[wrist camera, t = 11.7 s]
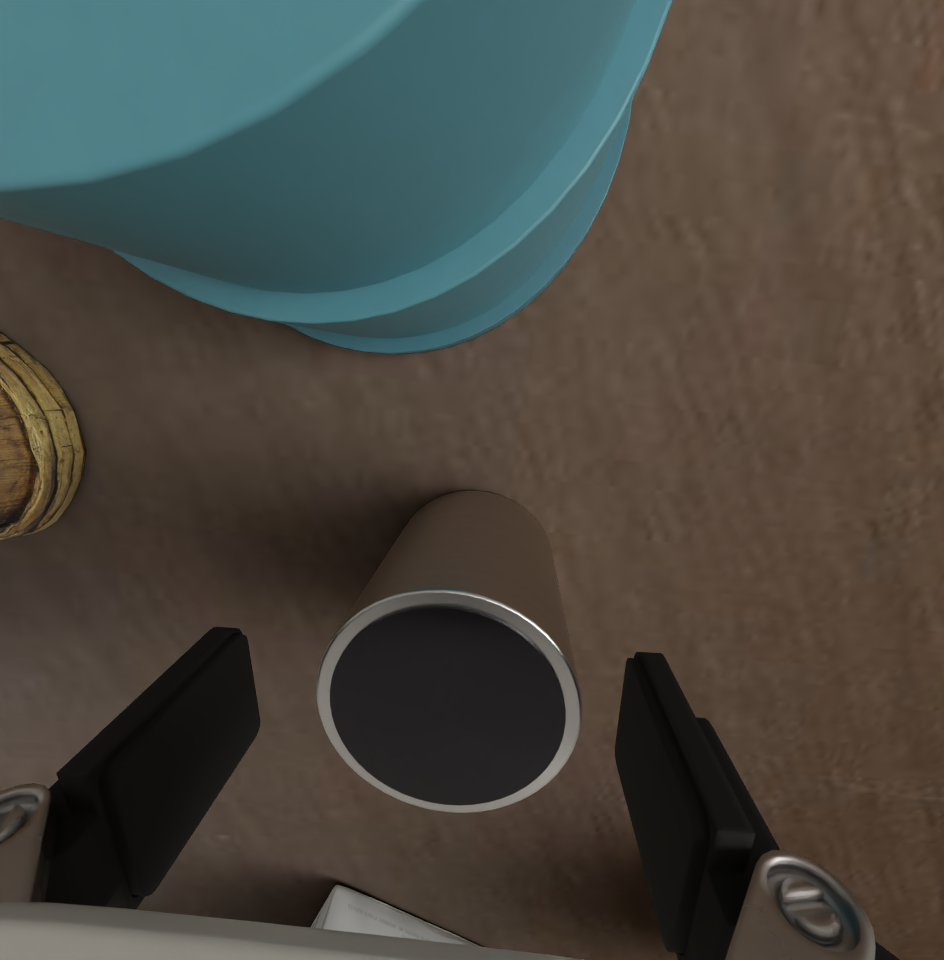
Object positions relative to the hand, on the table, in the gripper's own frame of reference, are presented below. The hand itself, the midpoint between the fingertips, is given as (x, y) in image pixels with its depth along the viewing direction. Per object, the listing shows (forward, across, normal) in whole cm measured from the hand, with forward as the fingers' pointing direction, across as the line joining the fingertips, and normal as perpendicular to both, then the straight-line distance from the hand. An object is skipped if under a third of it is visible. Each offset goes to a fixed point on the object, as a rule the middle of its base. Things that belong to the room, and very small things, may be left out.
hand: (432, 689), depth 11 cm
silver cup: (+8, 0, +1) cm, 8 cm away
